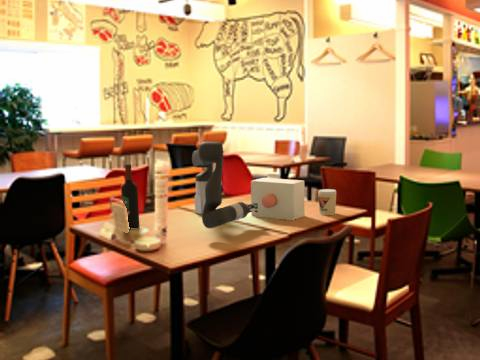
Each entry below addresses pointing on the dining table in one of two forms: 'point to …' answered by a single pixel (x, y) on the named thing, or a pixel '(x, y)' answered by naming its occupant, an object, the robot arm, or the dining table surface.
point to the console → (279, 198)
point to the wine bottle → (130, 198)
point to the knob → (269, 201)
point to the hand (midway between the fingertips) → (256, 205)
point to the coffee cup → (327, 201)
